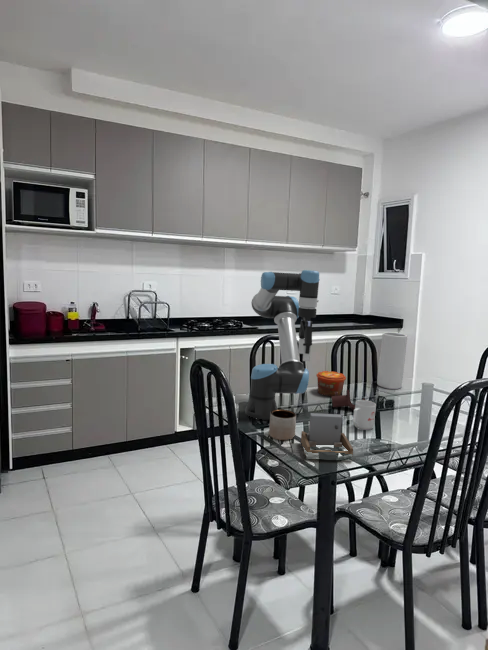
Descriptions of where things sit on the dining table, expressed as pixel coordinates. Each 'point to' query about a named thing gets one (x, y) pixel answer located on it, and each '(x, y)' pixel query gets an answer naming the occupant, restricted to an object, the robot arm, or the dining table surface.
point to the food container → (330, 383)
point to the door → (325, 428)
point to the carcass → (308, 444)
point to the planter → (282, 424)
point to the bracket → (342, 400)
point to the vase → (392, 360)
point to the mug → (364, 414)
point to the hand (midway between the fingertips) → (303, 357)
